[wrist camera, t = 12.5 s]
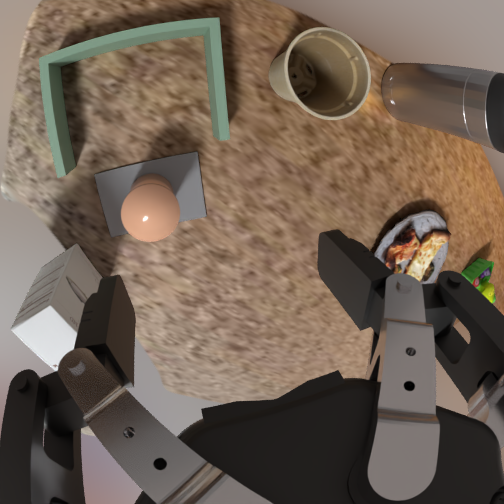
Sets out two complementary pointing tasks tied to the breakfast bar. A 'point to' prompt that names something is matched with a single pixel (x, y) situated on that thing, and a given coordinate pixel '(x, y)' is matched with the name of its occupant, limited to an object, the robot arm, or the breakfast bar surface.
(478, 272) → the fruit basket
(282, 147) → the breakfast bar surface
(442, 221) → the food plate
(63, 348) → the supplement box
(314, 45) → the flower pot
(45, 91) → the green u-shaped frame
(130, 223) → the tan round knob
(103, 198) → the slate mat
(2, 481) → the robot arm
